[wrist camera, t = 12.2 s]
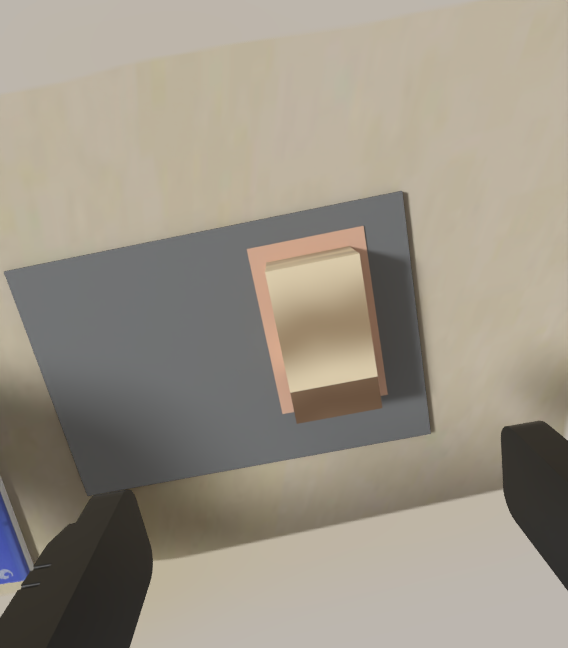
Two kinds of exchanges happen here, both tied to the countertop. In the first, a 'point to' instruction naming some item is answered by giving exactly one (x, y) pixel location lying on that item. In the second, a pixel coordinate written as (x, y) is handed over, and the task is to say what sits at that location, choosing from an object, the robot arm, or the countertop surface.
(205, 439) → the rubber mat
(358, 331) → the beige rectangular block
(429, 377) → the countertop surface
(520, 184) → the countertop surface
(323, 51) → the countertop surface
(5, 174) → the countertop surface
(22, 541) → the hard drive
